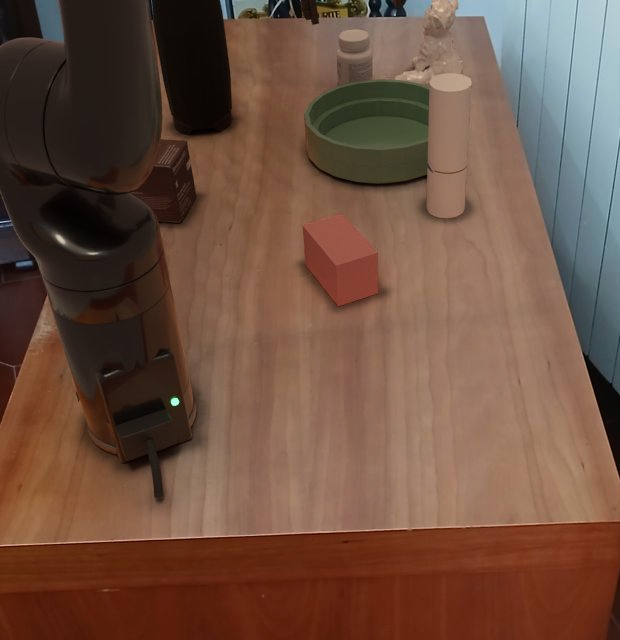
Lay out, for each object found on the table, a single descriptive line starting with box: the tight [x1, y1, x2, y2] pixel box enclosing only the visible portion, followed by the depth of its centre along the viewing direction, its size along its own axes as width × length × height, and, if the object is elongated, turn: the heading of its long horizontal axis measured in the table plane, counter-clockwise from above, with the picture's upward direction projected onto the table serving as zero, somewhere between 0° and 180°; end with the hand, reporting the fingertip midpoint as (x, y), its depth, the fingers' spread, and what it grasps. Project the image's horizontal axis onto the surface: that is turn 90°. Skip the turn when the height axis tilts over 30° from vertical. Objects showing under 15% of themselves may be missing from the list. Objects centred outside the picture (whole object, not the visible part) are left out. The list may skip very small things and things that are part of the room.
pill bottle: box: [336, 29, 374, 86], centre depth 124 cm, size 5×5×8 cm
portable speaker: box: [151, 0, 233, 135], centre depth 116 cm, size 9×9×20 cm
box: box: [131, 138, 197, 224], centre depth 104 cm, size 6×6×7 cm
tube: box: [426, 73, 473, 219], centre depth 99 cm, size 4×4×15 cm
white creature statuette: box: [394, 0, 465, 87], centre depth 124 cm, size 10×9×12 cm
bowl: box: [303, 78, 430, 185], centre depth 113 cm, size 18×18×5 cm
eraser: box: [301, 213, 379, 307], centre depth 93 cm, size 8×4×5 cm, turn 26°
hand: (356, 12), depth 92 cm, fingers open, 8 cm apart
